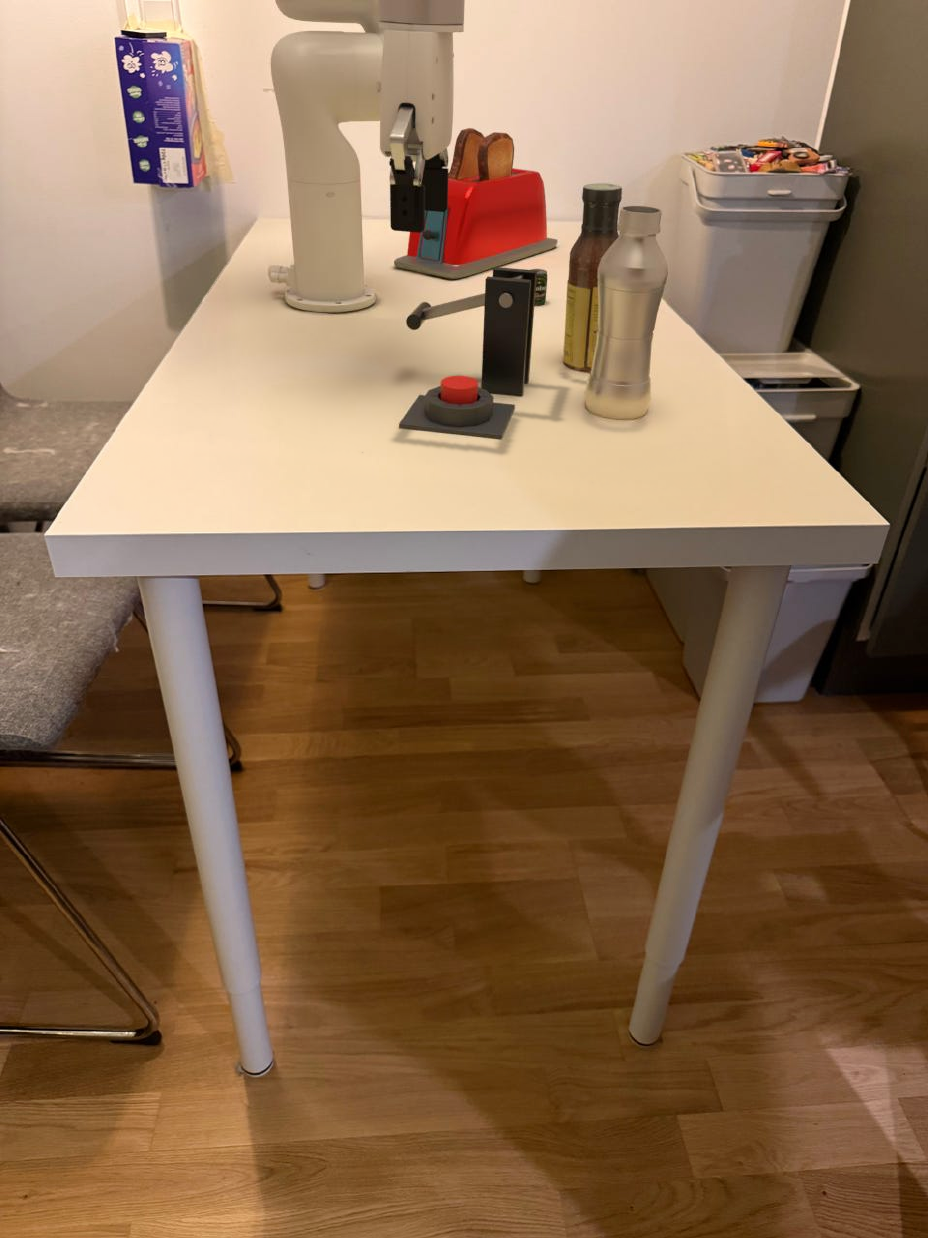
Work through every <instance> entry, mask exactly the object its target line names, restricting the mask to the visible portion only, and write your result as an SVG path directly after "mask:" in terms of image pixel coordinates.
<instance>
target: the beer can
mask: <svg viewBox="0 0 928 1238" xmlns="http://www.w3.org/2000/svg"><path fill="white" fill-rule="evenodd" d="M530 270H536V271H537V276H536V290H535V304H534V306H542V305H545V303H546V299H547V290H548V289H547V288H548V271H547V270H546V269H542V268H531V269H530Z"/></svg>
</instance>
